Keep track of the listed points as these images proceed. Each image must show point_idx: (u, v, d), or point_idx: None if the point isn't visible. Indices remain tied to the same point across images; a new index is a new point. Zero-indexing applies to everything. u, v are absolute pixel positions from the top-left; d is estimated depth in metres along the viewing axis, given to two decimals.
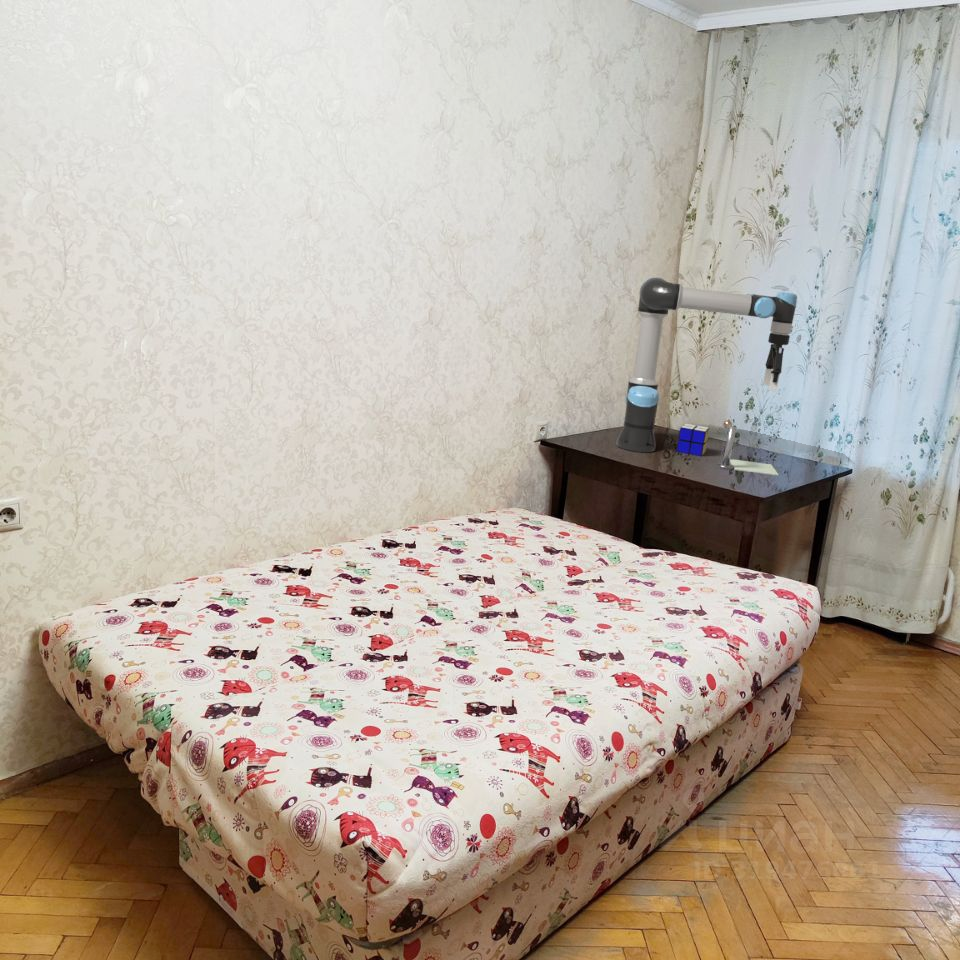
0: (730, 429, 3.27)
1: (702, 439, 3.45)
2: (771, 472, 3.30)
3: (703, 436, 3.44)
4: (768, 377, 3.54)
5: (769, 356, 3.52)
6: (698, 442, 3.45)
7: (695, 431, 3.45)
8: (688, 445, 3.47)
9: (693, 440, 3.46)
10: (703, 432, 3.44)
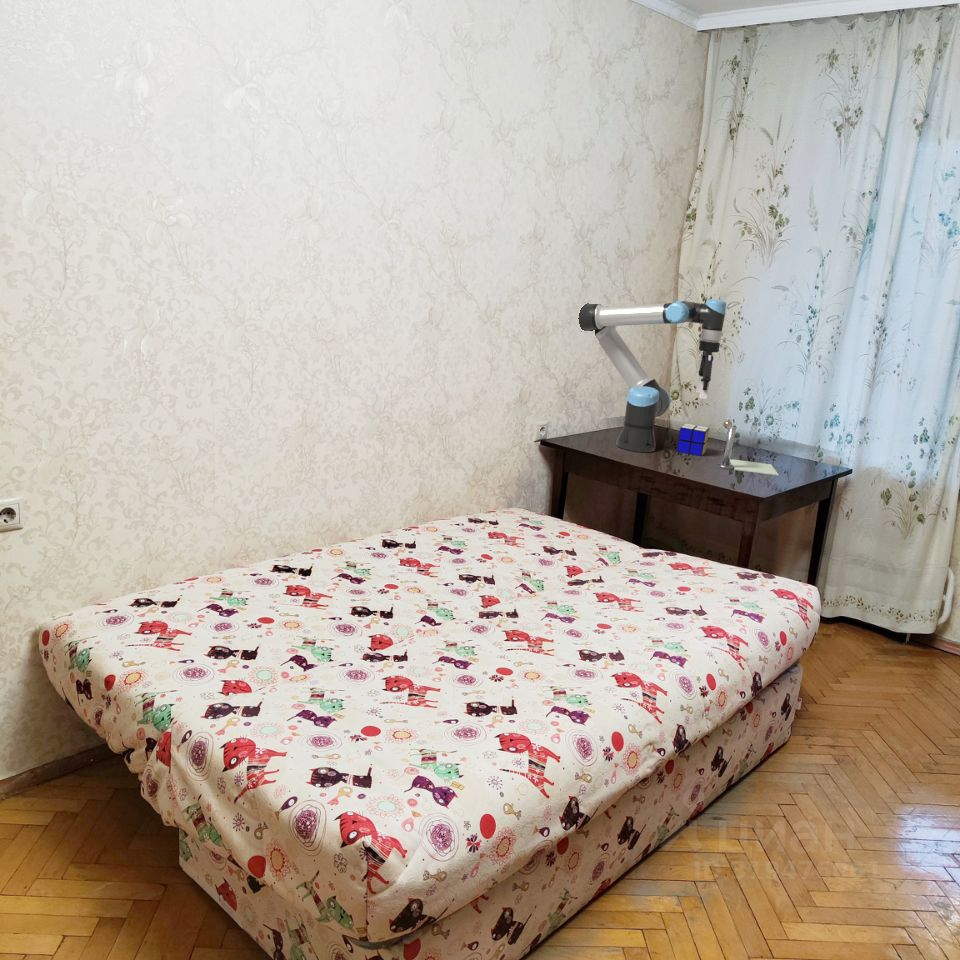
0: (730, 429, 3.27)
1: (702, 439, 3.45)
2: (771, 472, 3.30)
3: (703, 436, 3.44)
4: (701, 385, 3.51)
5: (701, 363, 3.50)
6: (698, 442, 3.45)
7: (695, 431, 3.45)
8: (688, 445, 3.47)
9: (693, 440, 3.46)
10: (703, 432, 3.44)
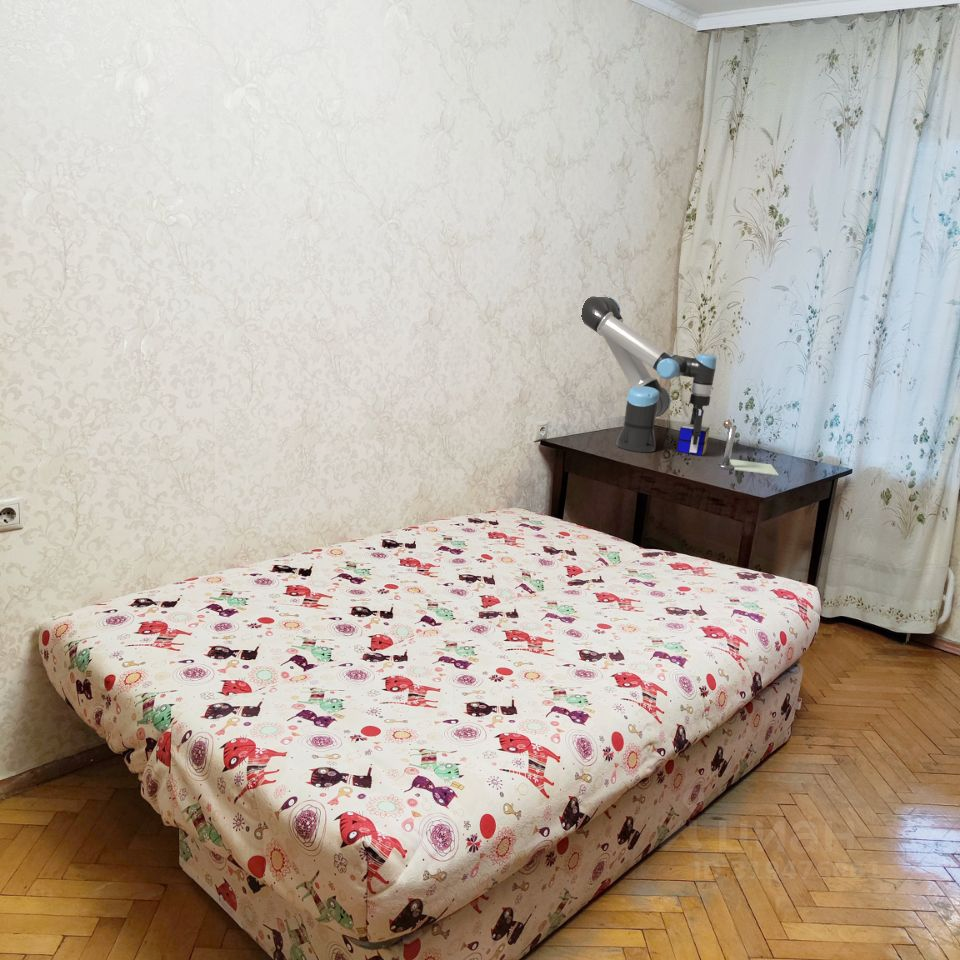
0: (730, 429, 3.27)
1: (702, 439, 3.45)
2: (771, 472, 3.30)
3: (703, 436, 3.44)
4: None
5: (692, 416, 3.55)
6: (698, 442, 3.45)
7: None
8: (688, 445, 3.47)
9: None
10: (703, 432, 3.44)
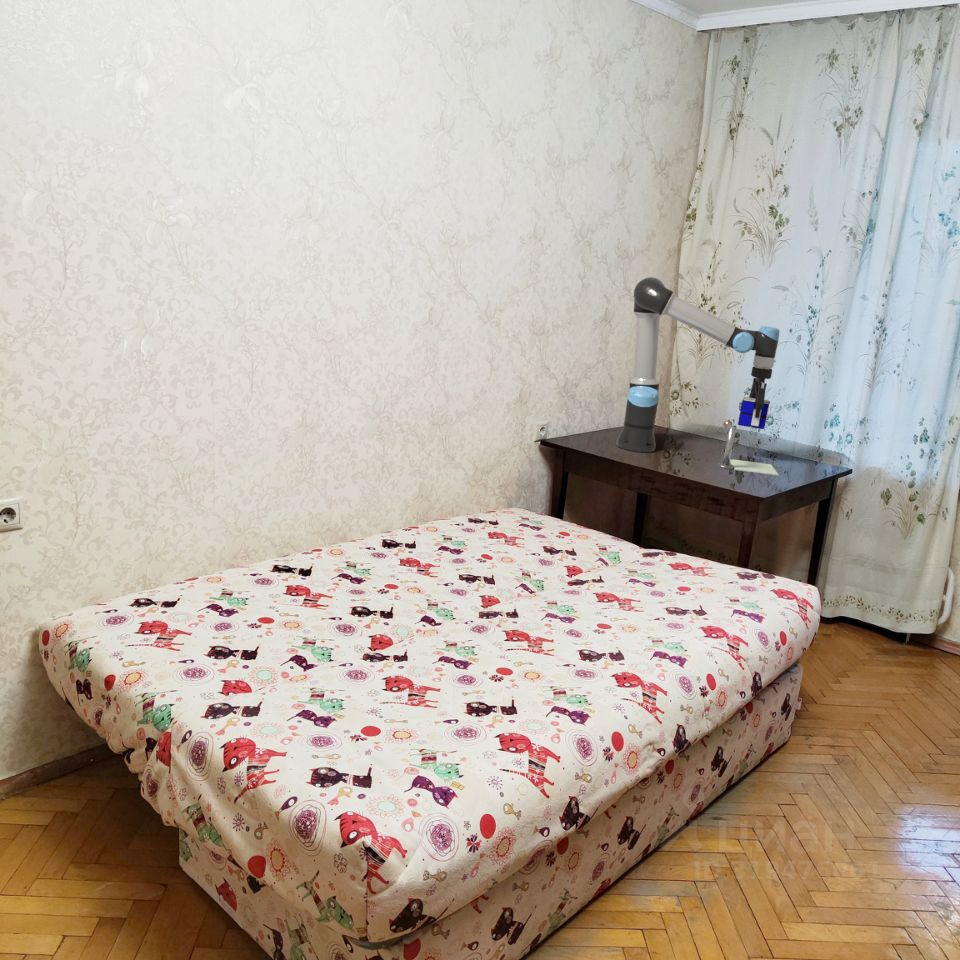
0: (730, 429, 3.27)
1: (765, 412, 3.43)
2: (771, 472, 3.30)
3: (766, 409, 3.42)
4: None
5: (752, 390, 3.53)
6: (760, 415, 3.44)
7: None
8: (750, 418, 3.45)
9: None
10: (766, 405, 3.42)
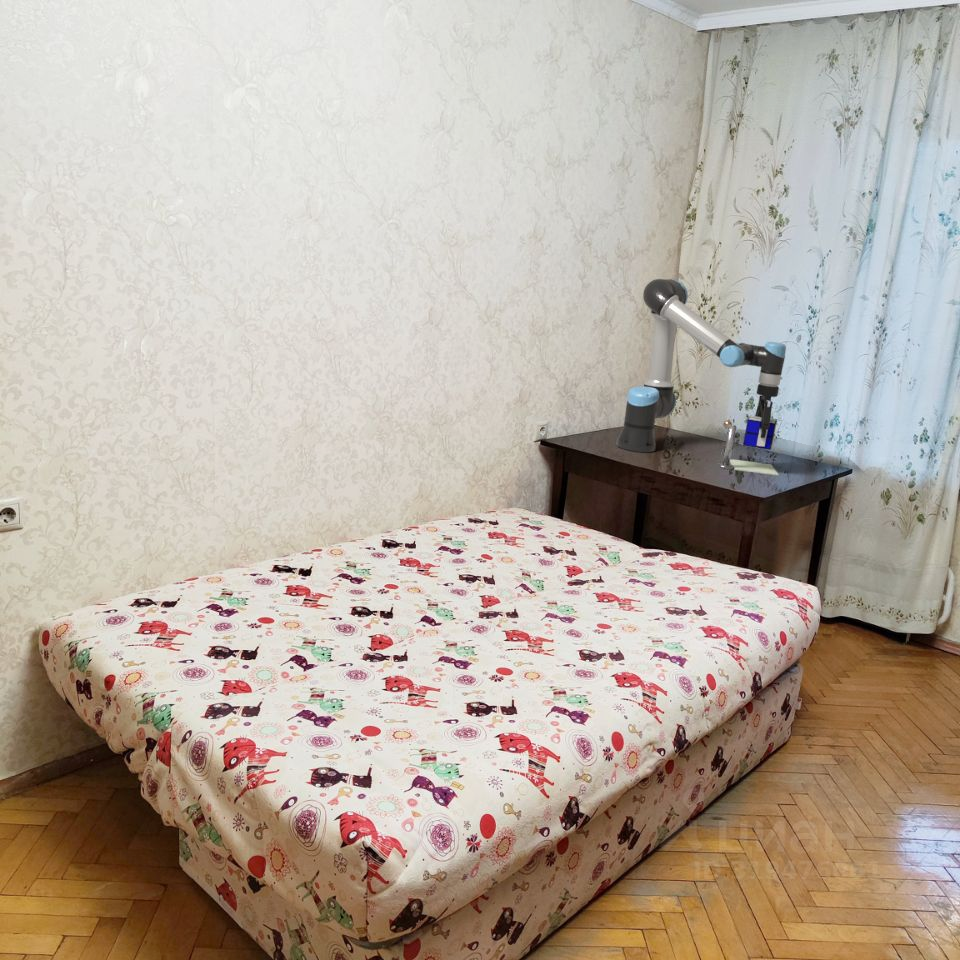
0: (730, 429, 3.27)
1: (771, 431, 3.26)
2: (771, 472, 3.30)
3: (772, 428, 3.26)
4: None
5: (758, 408, 3.37)
6: (767, 435, 3.27)
7: None
8: (756, 438, 3.29)
9: None
10: (772, 424, 3.26)
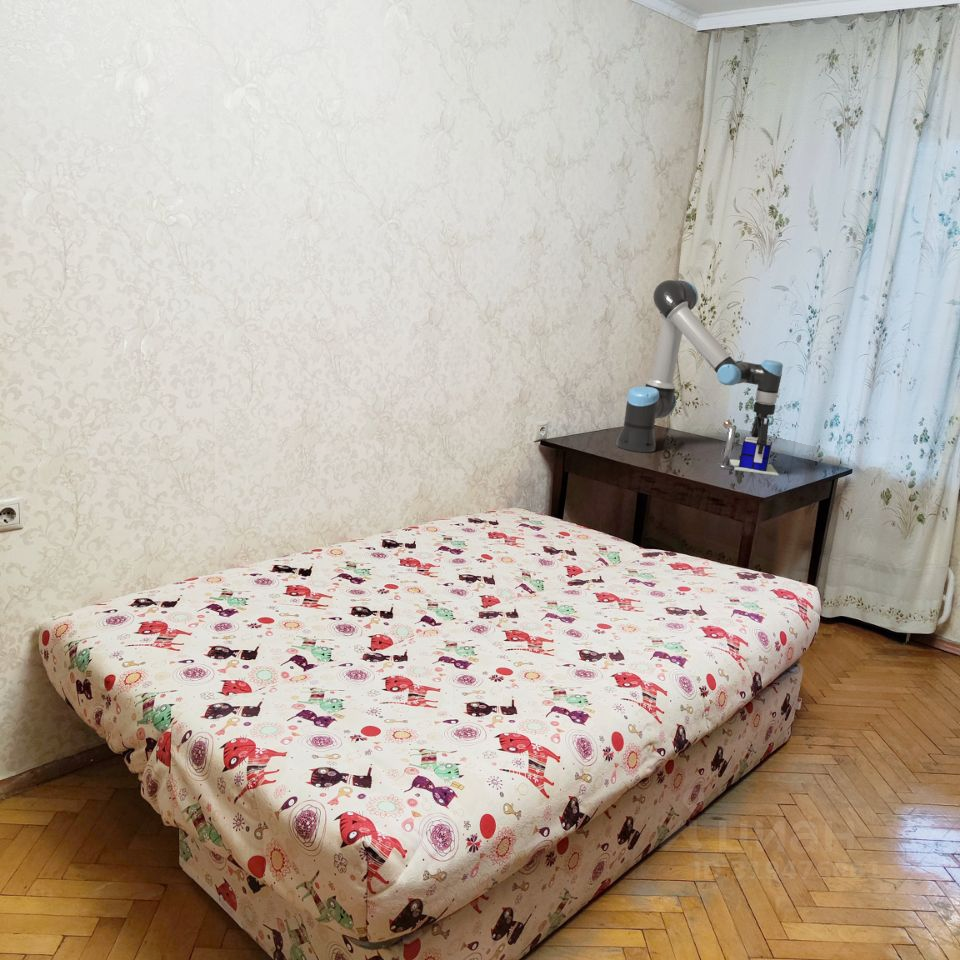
0: (730, 429, 3.27)
1: (767, 453, 3.29)
2: (771, 472, 3.30)
3: (768, 450, 3.28)
4: None
5: (755, 424, 3.39)
6: None
7: None
8: (752, 460, 3.31)
9: None
10: (768, 446, 3.28)
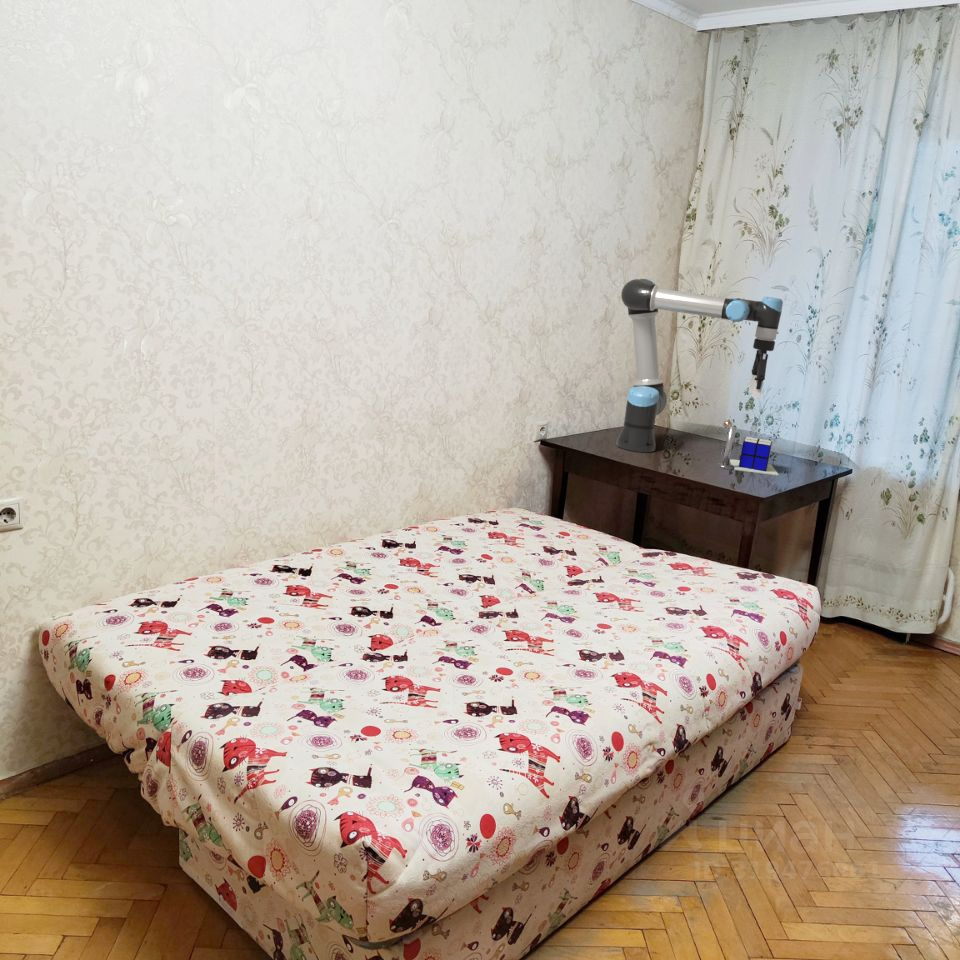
0: (730, 429, 3.27)
1: (767, 453, 3.29)
2: (771, 472, 3.30)
3: (768, 450, 3.28)
4: (754, 384, 3.45)
5: (755, 362, 3.44)
6: (762, 456, 3.29)
7: (759, 445, 3.29)
8: (752, 460, 3.31)
9: (757, 454, 3.30)
10: (768, 446, 3.28)
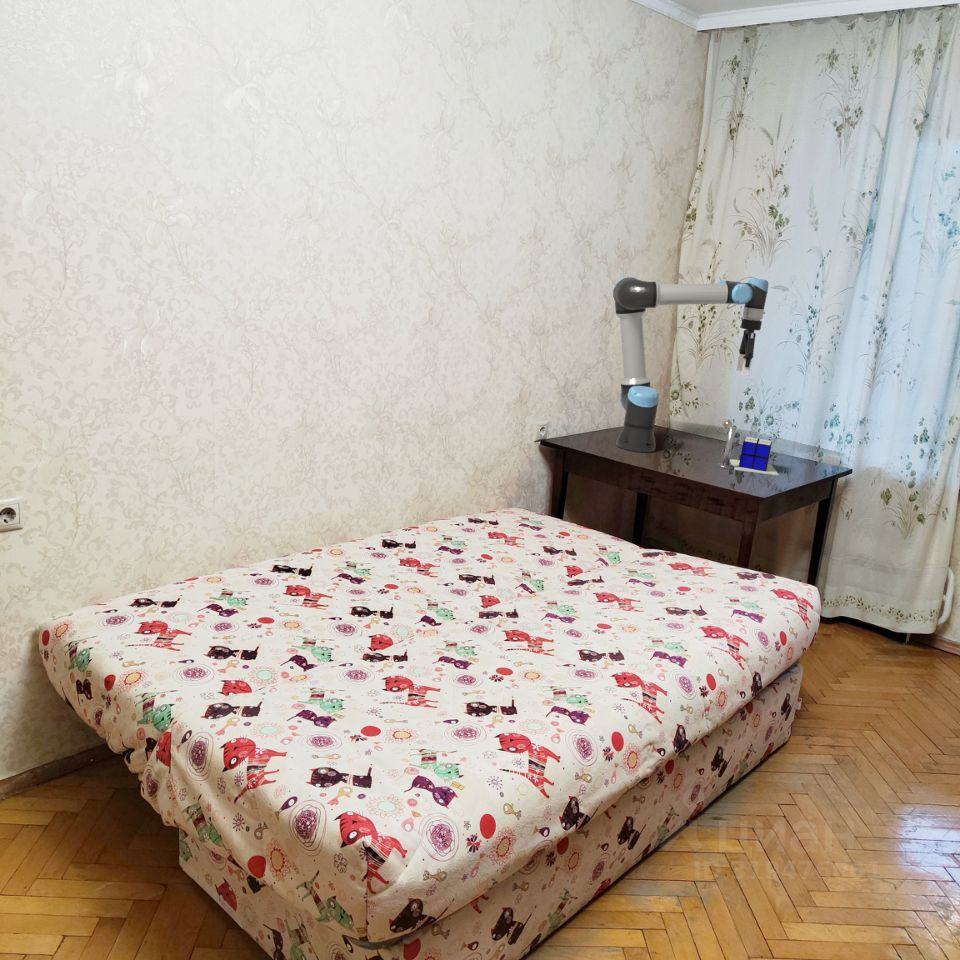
0: (730, 429, 3.27)
1: (767, 453, 3.29)
2: (771, 472, 3.30)
3: (768, 450, 3.28)
4: (741, 363, 3.59)
5: (742, 342, 3.57)
6: (762, 456, 3.29)
7: (759, 445, 3.29)
8: (752, 460, 3.31)
9: (757, 454, 3.30)
10: (768, 446, 3.28)
